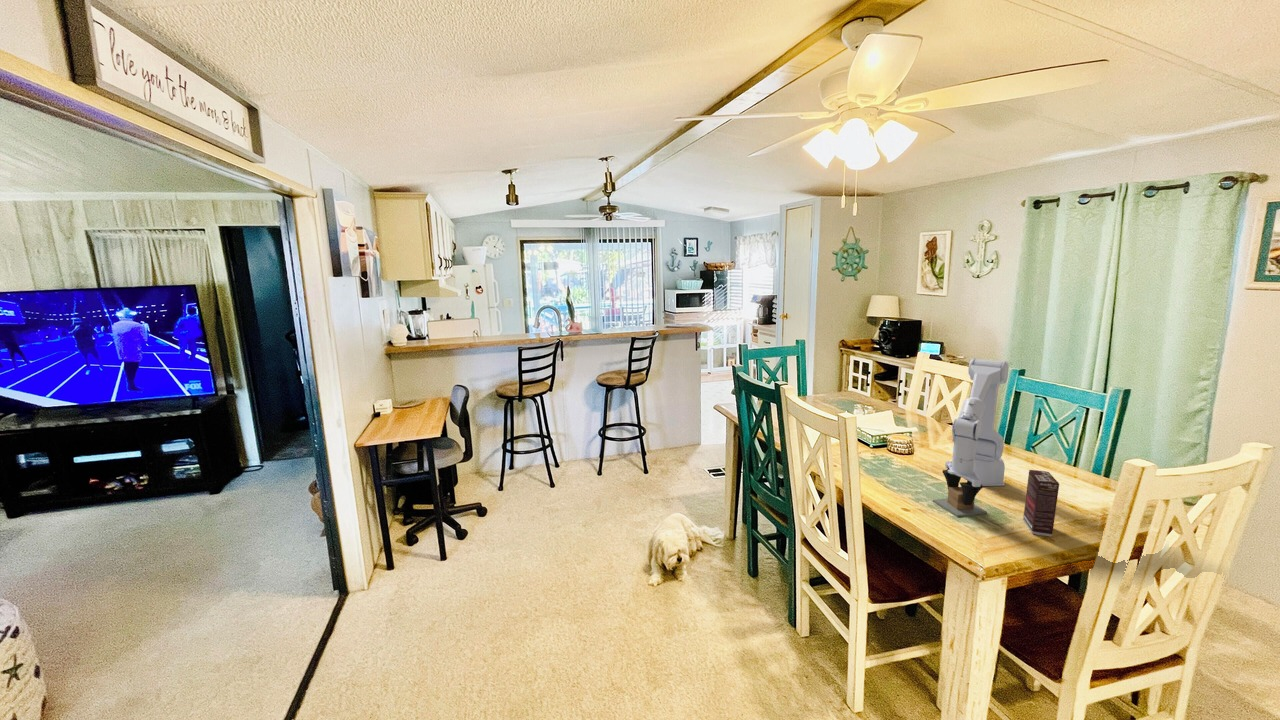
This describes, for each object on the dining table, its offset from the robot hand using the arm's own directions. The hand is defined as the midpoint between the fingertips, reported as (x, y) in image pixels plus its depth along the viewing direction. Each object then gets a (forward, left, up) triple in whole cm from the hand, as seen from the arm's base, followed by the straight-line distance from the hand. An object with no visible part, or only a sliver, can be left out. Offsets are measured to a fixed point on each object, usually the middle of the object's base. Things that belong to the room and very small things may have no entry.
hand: (960, 498), depth 153 cm
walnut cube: (0, 0, -2) cm, 2 cm away
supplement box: (-14, +13, -3) cm, 19 cm away
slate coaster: (0, 0, -3) cm, 3 cm away
